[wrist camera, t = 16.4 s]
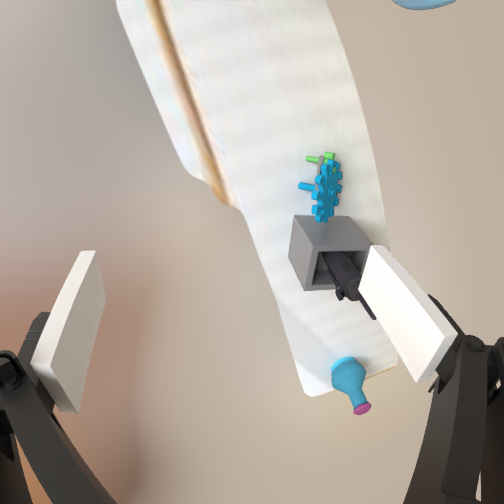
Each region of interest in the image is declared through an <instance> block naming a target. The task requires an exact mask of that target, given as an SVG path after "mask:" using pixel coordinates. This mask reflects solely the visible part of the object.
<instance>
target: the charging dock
mask: <svg viewBox="0 0 504 504" xmlns="http://www.w3.org/2000/svg"><path fill="white" fill-rule="evenodd" d="M371 245H373V243H372V242H371V241H370V240H369V239H368V238H367V237H366V236H365V235H364V233H363V232H362V231H361V230H360V229H359V228H358V227H357V226H356V225H355V224H354V223H353V221H352V220H351V219H350V218H349V217H348V216H332V217H328V222H327V223H324V222H322V223H318V222H316V221H315V216H294V220H293V227H292V234H291V241H290V248H289V255H288V257H289V259H290V261H291V264H292V266H293V268H294V270H295V272H296V274H297V277H298V279H299V281H300V283H301V285H302V287H303V290H304V291H313V290H329V289H336V287H335V284H334V282H333V281H332V279H331V277H330V275H329V273H328V271H327V269H328V267H327V265H326V263H325V261H324V259H323V256H322V251H344V252H345V253H346V254H347V255H348V257H349V258H350V259H351V261H352V263H353V264H354V266H355V267H356V269H357V270H358V271H359V273H360V274H361V276H362V275H363V272H364V268H365V265H366V262H367V258H368V255H369V251H370V247H371ZM331 274H332V273H331ZM332 276H333V275H332ZM334 279H335V278H334ZM335 281H336V280H335Z"/></svg>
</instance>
